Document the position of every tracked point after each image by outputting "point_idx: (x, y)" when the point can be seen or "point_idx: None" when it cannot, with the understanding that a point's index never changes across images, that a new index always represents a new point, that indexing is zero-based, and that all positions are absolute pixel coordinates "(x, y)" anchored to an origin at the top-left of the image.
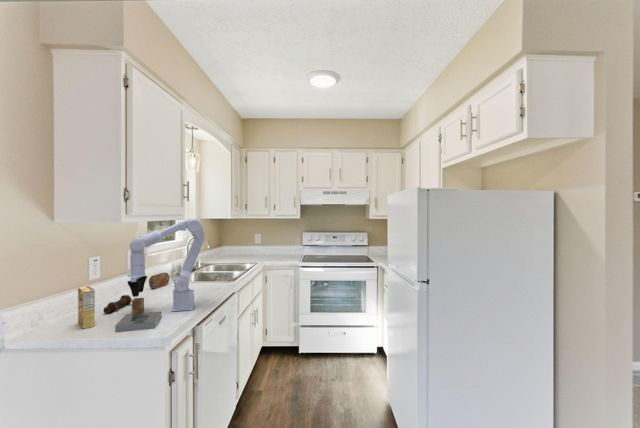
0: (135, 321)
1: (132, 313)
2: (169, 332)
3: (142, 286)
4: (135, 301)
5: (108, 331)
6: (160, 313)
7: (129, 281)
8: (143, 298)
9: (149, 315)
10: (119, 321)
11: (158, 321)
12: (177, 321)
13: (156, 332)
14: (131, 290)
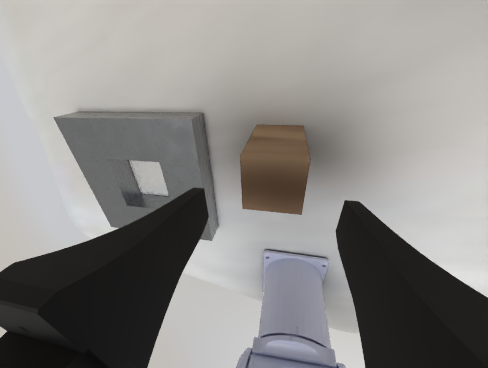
0: (107, 177)
1: (255, 130)
2: None
3: (351, 278)
4: (241, 173)
5: (77, 81)
6: None
7: (10, 317)
8: (287, 211)
9: None
10: (97, 118)
11: None
12: None
13: (100, 218)
14: (147, 216)
